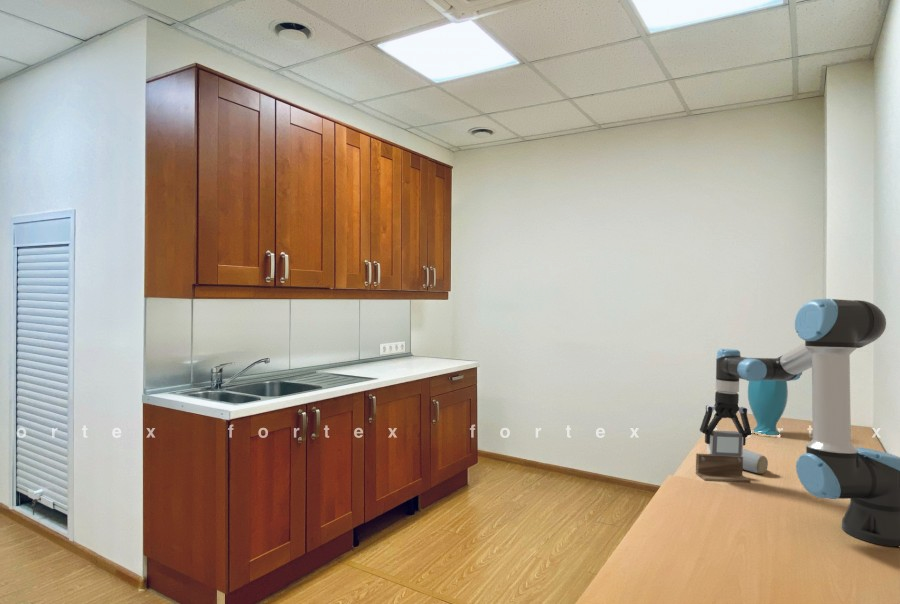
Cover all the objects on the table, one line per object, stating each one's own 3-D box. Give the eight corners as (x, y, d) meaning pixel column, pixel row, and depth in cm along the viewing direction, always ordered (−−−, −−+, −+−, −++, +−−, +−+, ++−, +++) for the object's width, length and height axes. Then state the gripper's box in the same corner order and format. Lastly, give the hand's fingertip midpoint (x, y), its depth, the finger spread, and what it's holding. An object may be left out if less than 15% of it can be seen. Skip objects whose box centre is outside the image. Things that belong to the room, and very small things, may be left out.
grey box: (741, 456, 192) (742, 434, 192) (713, 455, 193) (714, 433, 193) (735, 453, 196) (736, 431, 196) (708, 452, 197) (708, 430, 197)
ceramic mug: (758, 476, 199) (759, 455, 200) (736, 470, 206) (737, 449, 206) (773, 472, 205) (774, 452, 205) (751, 466, 212) (752, 447, 212)
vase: (738, 430, 275) (740, 372, 275) (764, 429, 281) (766, 371, 281) (767, 439, 259) (769, 376, 259) (794, 437, 264) (796, 376, 264)
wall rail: (750, 482, 192) (750, 461, 192) (704, 480, 192) (705, 459, 192) (739, 475, 199) (740, 455, 199) (695, 473, 200) (696, 453, 200)
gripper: (753, 391, 198) (750, 451, 198) (690, 388, 199) (688, 449, 199) (764, 395, 190) (762, 457, 191) (699, 392, 191) (697, 455, 191)
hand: (724, 453), depth 195 cm, fingers closed on grey box, 10 cm apart
